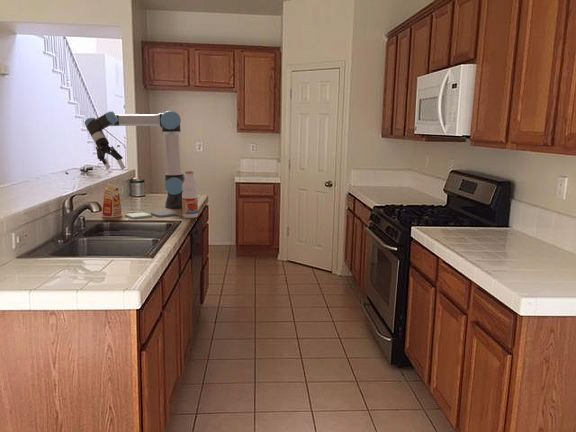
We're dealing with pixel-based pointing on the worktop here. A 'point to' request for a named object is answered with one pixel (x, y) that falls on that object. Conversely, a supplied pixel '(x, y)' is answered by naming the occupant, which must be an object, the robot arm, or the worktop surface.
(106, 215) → the milk carton
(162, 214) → the slate mat
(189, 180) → the fruit juice
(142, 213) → the sage mat
